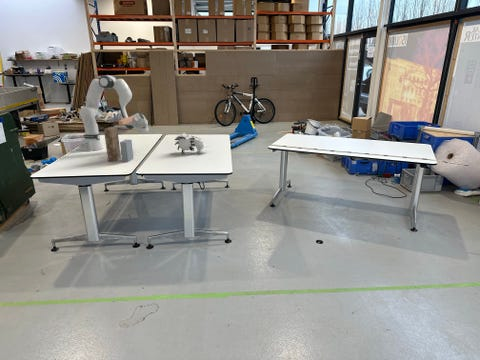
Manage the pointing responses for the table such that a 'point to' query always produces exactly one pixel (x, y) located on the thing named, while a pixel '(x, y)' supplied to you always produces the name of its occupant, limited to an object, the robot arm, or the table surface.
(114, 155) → the pillar
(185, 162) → the table surface
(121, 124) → the bar
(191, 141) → the figurine
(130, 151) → the blue-grey block
